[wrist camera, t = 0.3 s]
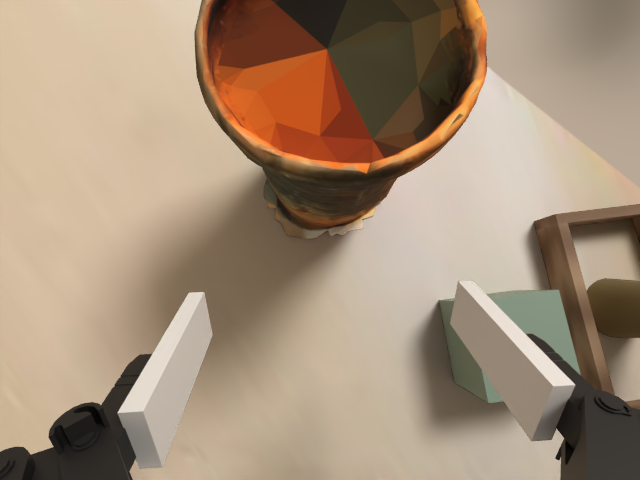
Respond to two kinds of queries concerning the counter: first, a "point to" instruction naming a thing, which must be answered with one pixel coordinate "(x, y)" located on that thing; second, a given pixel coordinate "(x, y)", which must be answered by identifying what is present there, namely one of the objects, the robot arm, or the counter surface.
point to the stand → (530, 316)
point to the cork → (616, 307)
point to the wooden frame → (579, 286)
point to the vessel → (338, 95)
